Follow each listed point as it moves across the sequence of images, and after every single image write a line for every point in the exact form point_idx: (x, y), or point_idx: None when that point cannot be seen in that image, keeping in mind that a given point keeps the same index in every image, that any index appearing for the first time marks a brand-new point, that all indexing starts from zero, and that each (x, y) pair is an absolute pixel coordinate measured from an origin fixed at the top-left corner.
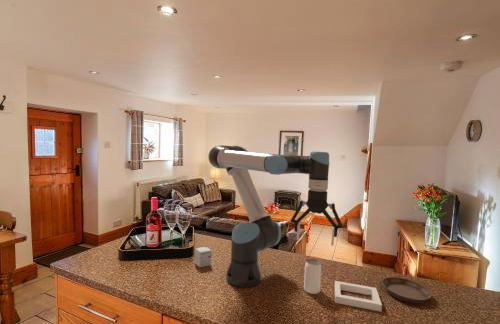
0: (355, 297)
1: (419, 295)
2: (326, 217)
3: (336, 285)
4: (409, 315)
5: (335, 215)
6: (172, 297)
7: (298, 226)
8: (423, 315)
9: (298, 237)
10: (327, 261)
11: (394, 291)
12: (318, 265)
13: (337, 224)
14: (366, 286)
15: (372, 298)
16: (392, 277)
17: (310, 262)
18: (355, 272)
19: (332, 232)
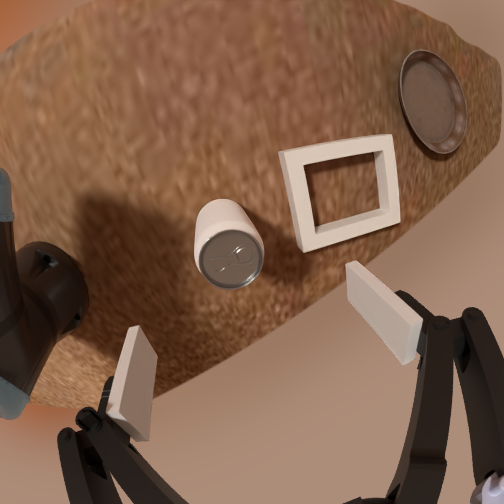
0: (350, 224)
1: (446, 102)
2: (401, 455)
3: (295, 184)
4: (429, 198)
5: (477, 429)
6: (50, 395)
7: (144, 431)
8: (445, 184)
9: (154, 371)
10: None
11: (414, 105)
12: (258, 269)
13: (457, 336)
14: (371, 138)
15: (379, 174)
16: (414, 52)
17: (221, 271)
18: (314, 19)
19: (391, 348)
